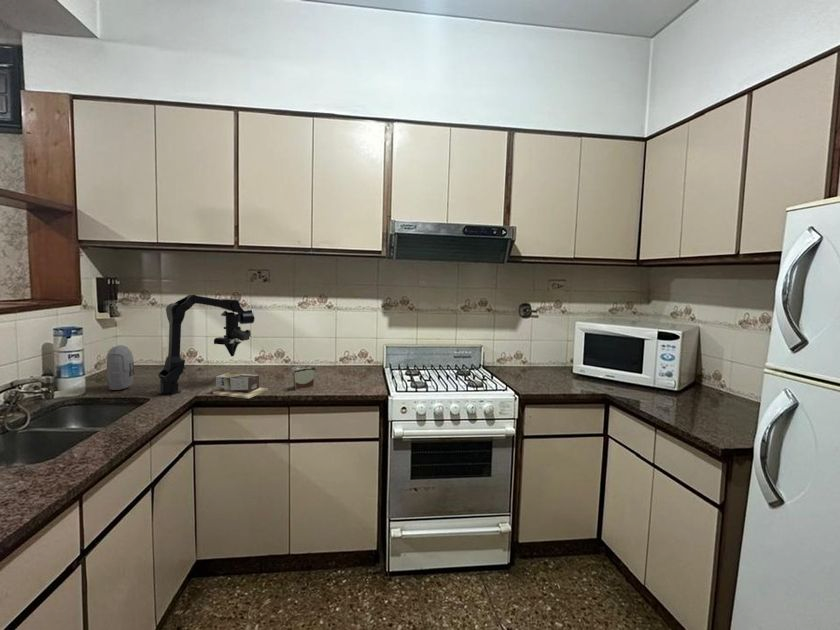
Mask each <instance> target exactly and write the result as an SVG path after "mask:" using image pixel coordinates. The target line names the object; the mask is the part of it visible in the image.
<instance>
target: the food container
mask: <svg viewBox="0 0 840 630" xmlns="http://www.w3.org/2000/svg"><path fill="white" fill-rule="evenodd" d="M316 371H317V367H316V365H307V364H306V365H297V366H294V367H292V369H291V374H292V377H293V388H294V390H295V391H298V389H299V390H304V389H303V388H305V389H309V388H308V387H310V388H314V387H313V386H314V385H315V375H316V374H315V373H316Z"/></svg>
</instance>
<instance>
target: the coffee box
mask: <svg viewBox="0 0 840 630" xmlns="http://www.w3.org/2000/svg"><path fill="white" fill-rule="evenodd" d="M215 377H216V378H215V390H216V391H219V390H225V391H235V392H246V393H249V392H251V391H254V390H256V389H258V388H260V375H259V374H249V373H235V372H227V373H223V374H221V375H217V376H215Z"/></svg>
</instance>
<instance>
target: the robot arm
mask: <svg viewBox="0 0 840 630" xmlns="http://www.w3.org/2000/svg"><path fill="white" fill-rule="evenodd" d="M195 304H198V305H205V306H209V307H210V306H211V307H218V308H220V309H222V310H224V311H223V312H222V313H221V314H220V316H221V317H225V326H224V327H223V330H225V334H223V336H221V337H220V336H219V337H215V338H214V339H213V344H214V345H222V346H224V347H225V348H226V350H227V352H228V353H229V356H230V357H234V356H235V355H236V351H237V348H238V347H239V345H240V344H241V343H242V342H244V341H249V340H250V337H252V336H251V334H252V333H251V329H250V330H249V329H246V330H242V328H241V326H239V324H240V325H245V324H246V325H247V324H248V325H249V324H254V323H255V315H254V312H253V310H252V309H247V310H244V309H243V308H242V306H241V304H240V301H239V300H238V299H233V298H213V297H207V296H203V295H202V296H201V295H196V294H192V293H191V294H190V293H189V294H187V296H185V297H183V298H181V299H179V300H177V301H175V302H172V303H169V304H168V305H166V307H165V313H166V318H167V321H168V324H169V327H168V328H169V329H168V355H167V357H166V359H165V361H164V365H163V366H164V367H163V369H162V370H160V372H159V373H158V374H157V376H158V378H159V380H160V383H159V385H160V391H159V392H157V395H162V394H164V396H171V395H175V394H178V393H181V390H179V379H180V376H181V375H182V374H183V372H184V370H186V368H185V362H186V359H183V358H182V357H181V338H182V337H181V336H182V323H183V322H184V319H185V315H186V312H187V311H189V310H190V309H191V308H192V307H193V306H194V305H195ZM228 311H229V312H228Z"/></svg>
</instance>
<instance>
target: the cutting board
mask: <svg viewBox="0 0 840 630" xmlns="http://www.w3.org/2000/svg"><path fill="white" fill-rule="evenodd" d="M265 391H266V392H268V391H269V388H268V387H259V388H258V389H256V390H254V391H251V392H249V393H246V392H235V391H225V390H216V391H213V392H212V393H213V395H215V396H224V397H232V398H240V399H249V400H250V399H251V398H253V397H255V396H258V395H261V394H263V393H265Z"/></svg>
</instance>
